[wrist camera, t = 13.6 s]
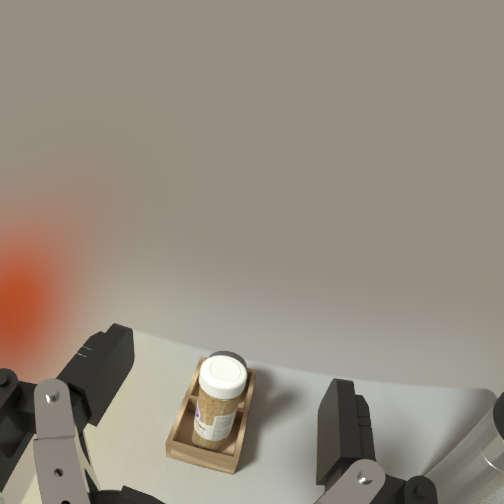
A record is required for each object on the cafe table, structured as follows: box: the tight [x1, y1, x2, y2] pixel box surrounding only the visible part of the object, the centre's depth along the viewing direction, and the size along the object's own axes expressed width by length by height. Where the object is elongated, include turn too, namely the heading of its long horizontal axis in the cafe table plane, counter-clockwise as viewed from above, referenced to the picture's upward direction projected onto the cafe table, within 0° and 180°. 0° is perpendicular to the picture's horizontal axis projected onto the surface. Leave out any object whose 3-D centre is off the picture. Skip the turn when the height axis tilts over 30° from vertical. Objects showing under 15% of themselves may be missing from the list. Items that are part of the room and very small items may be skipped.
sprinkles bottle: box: [192, 355, 247, 453], centre depth 31 cm, size 5×5×14 cm
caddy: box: [166, 356, 257, 474], centre depth 37 cm, size 16×8×4 cm, turn 172°
